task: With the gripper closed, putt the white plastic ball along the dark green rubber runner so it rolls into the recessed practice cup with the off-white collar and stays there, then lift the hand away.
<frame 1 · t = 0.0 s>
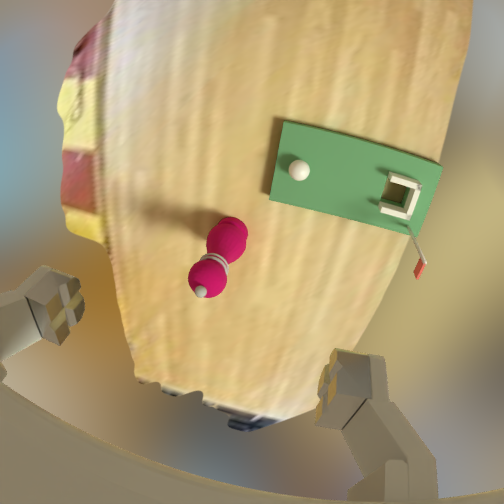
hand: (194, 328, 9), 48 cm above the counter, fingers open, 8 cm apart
pepper mill: (232, 230, 63), on the counter
green: (356, 178, 53), on the counter
ball: (299, 170, 51), point 4 cm above the counter, touching green
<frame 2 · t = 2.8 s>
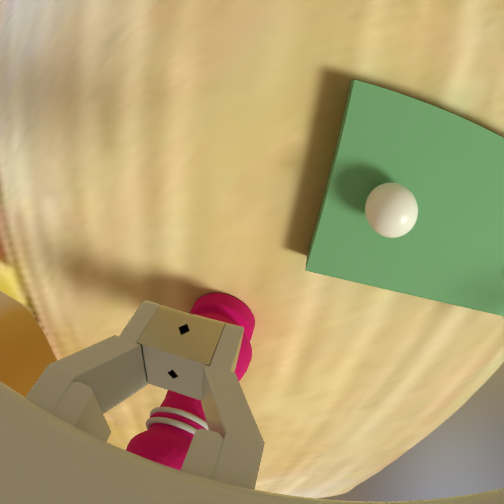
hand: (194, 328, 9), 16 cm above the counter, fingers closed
pepper mill: (224, 315, 31), on the counter
green: (488, 224, 21), on the counter
ball: (391, 210, 19), point 4 cm above the counter, touching green
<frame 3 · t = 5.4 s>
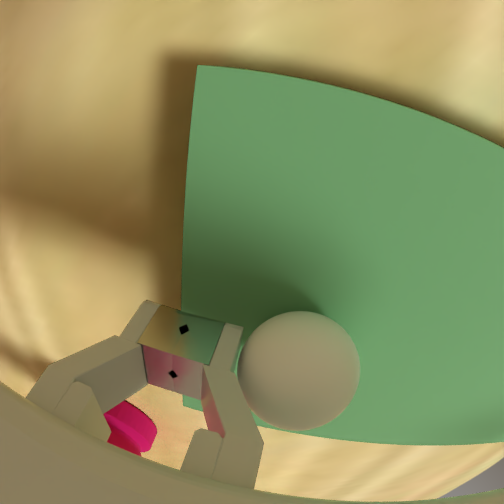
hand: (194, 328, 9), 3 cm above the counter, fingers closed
pepper mill: (121, 412, 21), on the counter
ball: (298, 371, 8), point 4 cm above the counter, touching green, gripper
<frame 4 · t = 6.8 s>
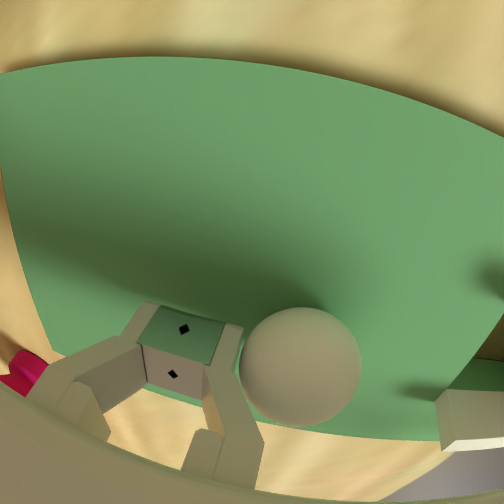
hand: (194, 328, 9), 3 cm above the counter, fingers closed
pepper mill: (46, 374, 22), on the counter
green: (361, 295, 11), on the counter
ball: (300, 367, 9), point 4 cm above the counter, tilted 101°, touching green
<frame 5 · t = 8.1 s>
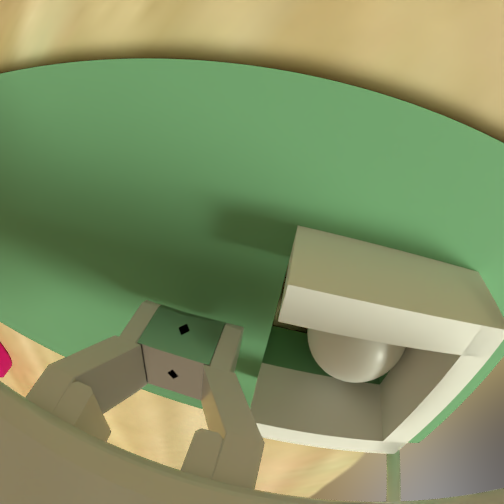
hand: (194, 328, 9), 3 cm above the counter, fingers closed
green: (159, 251, 12), on the counter
ball: (358, 331, 10), point 2 cm above the counter, tilted 109°
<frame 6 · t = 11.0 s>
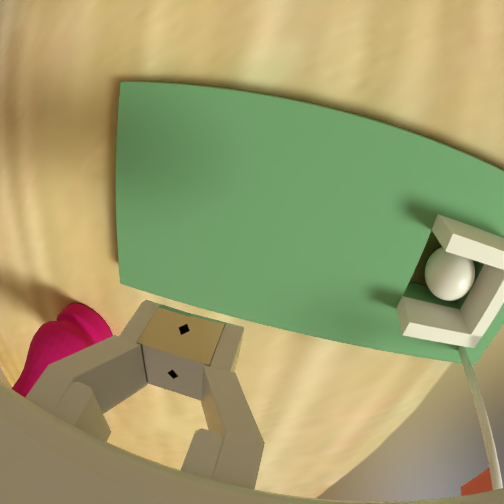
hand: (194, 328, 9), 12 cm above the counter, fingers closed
pepper mill: (89, 325, 29), on the counter
green: (341, 230, 19), on the counter
ball: (450, 272, 17), point 2 cm above the counter, tilted 117°
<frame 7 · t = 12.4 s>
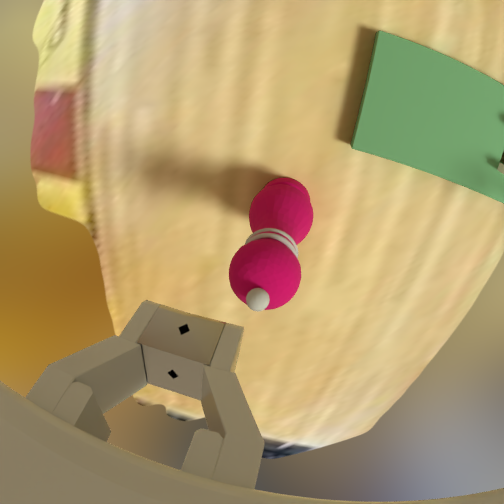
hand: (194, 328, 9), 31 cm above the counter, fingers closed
pepper mill: (285, 200, 40), on the counter
green: (469, 127, 30), on the counter
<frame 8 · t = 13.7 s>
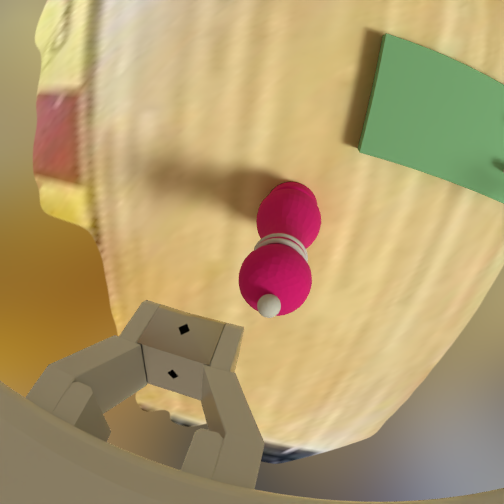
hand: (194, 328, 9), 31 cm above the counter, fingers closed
pepper mill: (292, 204, 40), on the counter
green: (475, 130, 30), on the counter
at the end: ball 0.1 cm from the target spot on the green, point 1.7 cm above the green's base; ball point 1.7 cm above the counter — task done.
